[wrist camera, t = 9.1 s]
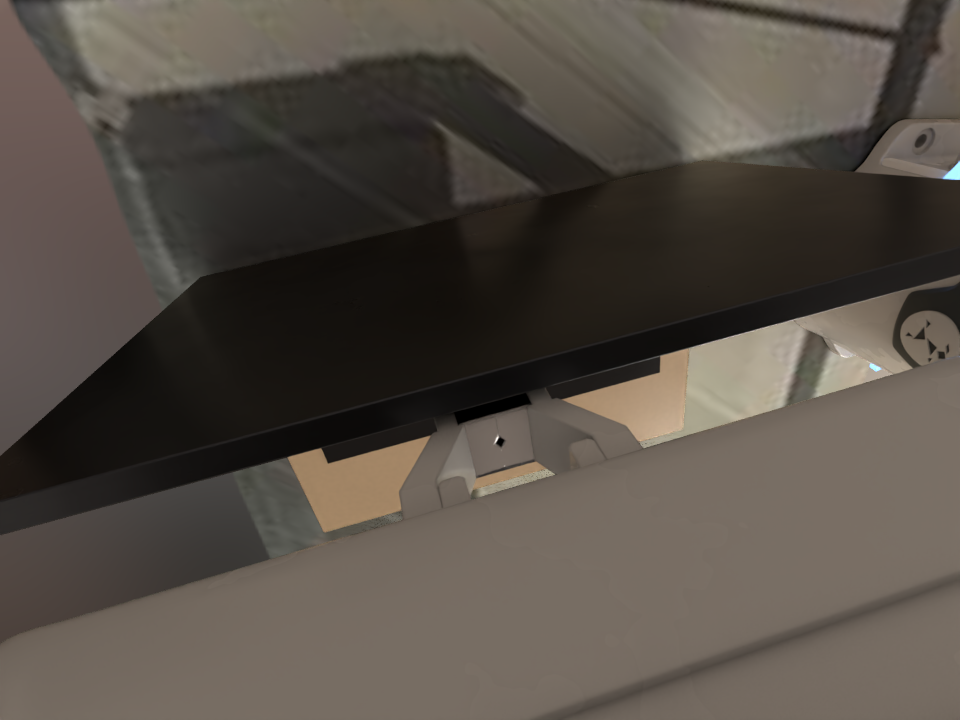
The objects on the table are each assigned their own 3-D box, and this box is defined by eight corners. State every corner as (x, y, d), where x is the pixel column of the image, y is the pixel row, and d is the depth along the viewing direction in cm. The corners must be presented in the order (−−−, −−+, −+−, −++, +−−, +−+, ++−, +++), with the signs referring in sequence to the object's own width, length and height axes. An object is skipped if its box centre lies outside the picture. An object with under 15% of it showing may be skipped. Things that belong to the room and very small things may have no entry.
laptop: (672, 416, 47) (684, 430, 45) (324, 515, 44) (323, 534, 42) (687, 168, 35) (703, 175, 34) (211, 279, 32) (206, 293, 31)
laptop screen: (1146, 228, 15) (1156, 194, 14) (-48, 553, 12) (-73, 520, 11) (702, 175, 34) (702, 160, 33) (206, 292, 31) (200, 276, 30)
